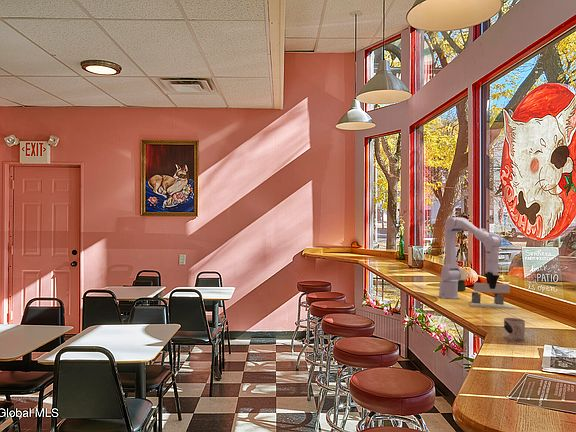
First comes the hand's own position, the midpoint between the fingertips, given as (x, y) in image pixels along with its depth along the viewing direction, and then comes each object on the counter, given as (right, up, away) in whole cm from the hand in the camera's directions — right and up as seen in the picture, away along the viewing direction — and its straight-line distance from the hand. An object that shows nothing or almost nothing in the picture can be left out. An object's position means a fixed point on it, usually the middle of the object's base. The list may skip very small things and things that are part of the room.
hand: (491, 288), depth 230 cm
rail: (0, -2, 0) cm, 2 cm away
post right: (+7, -9, +7) cm, 13 cm away
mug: (-20, -8, -65) cm, 68 cm away
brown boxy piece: (-4, -9, +9) cm, 13 cm away
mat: (0, -9, 0) cm, 9 cm away
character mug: (+4, -10, +52) cm, 53 cm away
